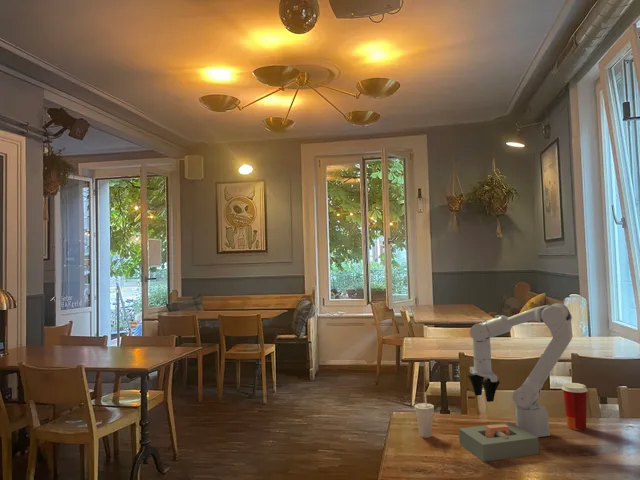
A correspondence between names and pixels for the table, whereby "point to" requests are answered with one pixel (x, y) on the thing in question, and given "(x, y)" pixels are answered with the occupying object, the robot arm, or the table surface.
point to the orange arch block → (494, 428)
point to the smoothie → (424, 418)
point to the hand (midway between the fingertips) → (484, 398)
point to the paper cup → (575, 405)
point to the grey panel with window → (498, 442)
